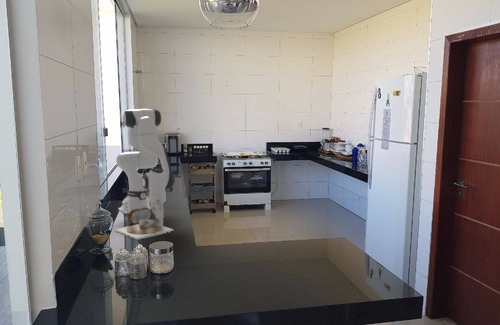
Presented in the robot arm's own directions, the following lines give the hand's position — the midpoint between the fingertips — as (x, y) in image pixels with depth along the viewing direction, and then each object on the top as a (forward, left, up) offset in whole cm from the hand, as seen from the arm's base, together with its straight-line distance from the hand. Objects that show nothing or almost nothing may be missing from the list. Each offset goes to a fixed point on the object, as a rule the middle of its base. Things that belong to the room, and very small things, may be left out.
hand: (157, 222), depth 214 cm
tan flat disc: (-1, -7, -2) cm, 8 cm away
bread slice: (-18, 0, -4) cm, 18 cm away
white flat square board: (-1, -8, -3) cm, 9 cm away
